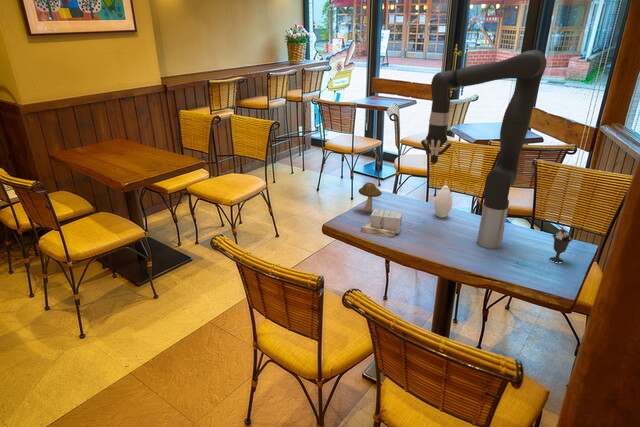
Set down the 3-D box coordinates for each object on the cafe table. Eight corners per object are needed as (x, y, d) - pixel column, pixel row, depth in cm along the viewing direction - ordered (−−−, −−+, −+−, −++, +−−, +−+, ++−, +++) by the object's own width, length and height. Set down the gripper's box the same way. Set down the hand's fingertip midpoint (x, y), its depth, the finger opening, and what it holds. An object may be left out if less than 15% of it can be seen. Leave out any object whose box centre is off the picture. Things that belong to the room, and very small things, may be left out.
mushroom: (375, 218, 201) (377, 188, 194) (353, 213, 206) (355, 183, 200) (383, 211, 208) (385, 182, 202) (362, 206, 213) (363, 178, 207)
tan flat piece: (401, 224, 194) (401, 220, 193) (393, 237, 183) (394, 232, 182) (370, 219, 199) (370, 214, 199) (361, 231, 188) (361, 226, 187)
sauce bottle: (443, 221, 198) (448, 185, 191) (429, 216, 203) (434, 180, 196) (453, 217, 202) (458, 181, 195) (439, 212, 208) (444, 176, 201)
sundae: (549, 254, 170) (557, 220, 164) (567, 260, 167) (577, 225, 161) (544, 261, 166) (553, 225, 160) (563, 266, 162) (573, 231, 156)
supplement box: (398, 234, 184) (369, 230, 188) (401, 227, 191) (372, 223, 194) (400, 218, 181) (370, 214, 185) (402, 211, 188) (373, 208, 191)
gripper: (456, 122, 177) (450, 163, 184) (424, 119, 181) (419, 159, 188) (454, 126, 170) (448, 167, 177) (420, 123, 175) (416, 163, 182)
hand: (433, 163), depth 183 cm, fingers closed
